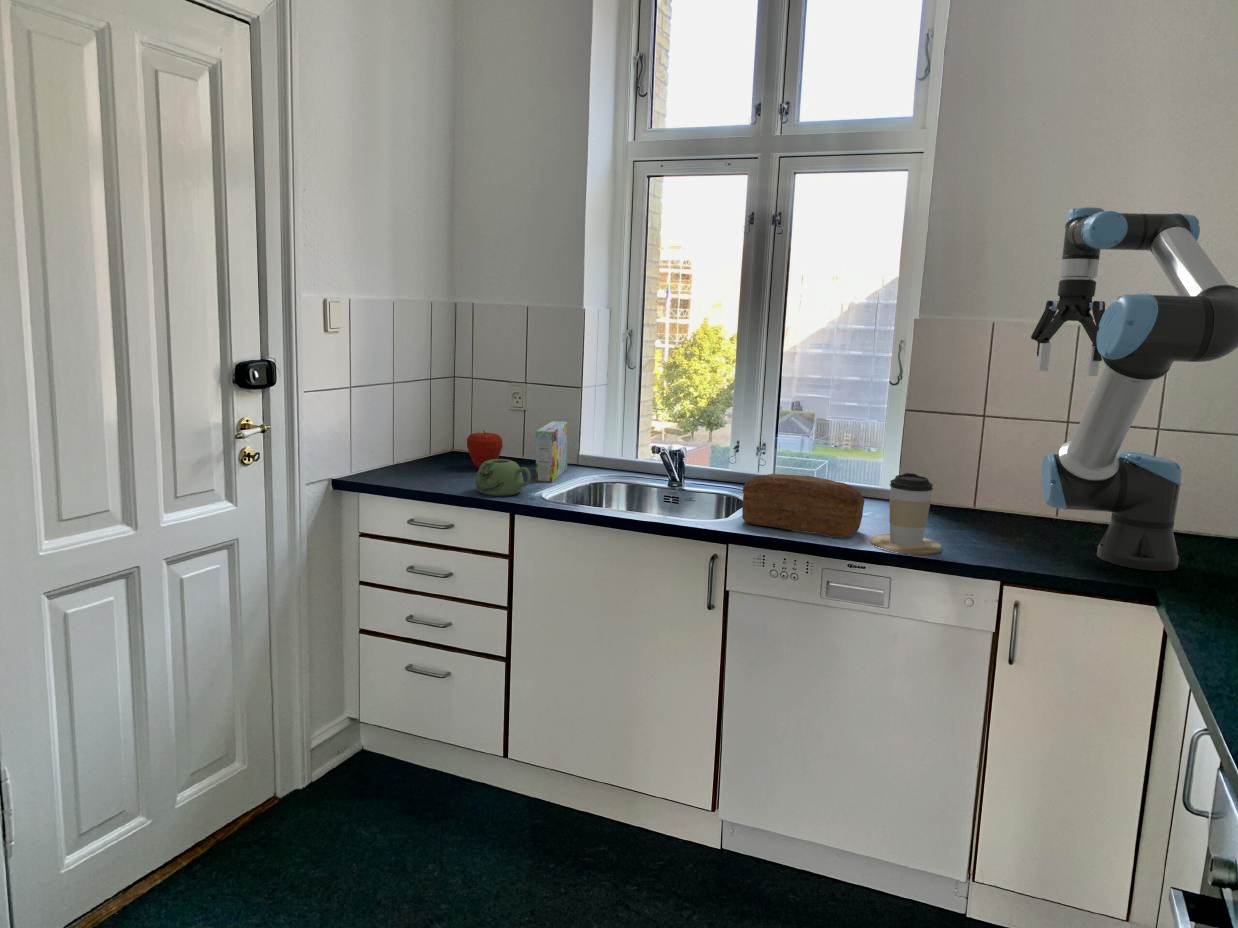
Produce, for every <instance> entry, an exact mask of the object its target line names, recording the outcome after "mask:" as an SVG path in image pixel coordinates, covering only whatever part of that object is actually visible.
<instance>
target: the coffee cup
mask: <svg viewBox="0 0 1238 928" xmlns="http://www.w3.org/2000/svg"><path fill="white" fill-rule="evenodd" d="M933 485H934V484H933V483H931V482H930V481H929V478H927V477H924V476H921V475H918V474H916V473H913V472H912V473H910V472H906V473H902V474H898V475H895V477H894V479H891V480H890V484H889V486H890V495H889V519H888V520H889V521H888V522H889V534H890V541H891V542H892V543H895V544H899V545H905V546H919V545H922V542H923V538H924V535H925V531H926V530H925V529H926V526H927V522H928V517H929V512H930V507H931V497H932V496H931V495H932V490H933V489H934V488H933Z"/></svg>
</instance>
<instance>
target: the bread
mask: <svg viewBox="0 0 1238 928" xmlns="http://www.w3.org/2000/svg"><path fill="white" fill-rule="evenodd" d="M742 493H743V496H742V505H741V506H742V507H741V508H742V509H741V511H742V515H741V517H742V520H743V521H744V522H745V523H748V524H751V525H755V526H761V527H762V526H763V527H771V528H778V529H784V530H788V531H794V532H803V533H810V534H817V535H820V536H821V535H822V536H827V537H833V538H849V537H851V536H853V535H854V534H856V533H857V532H858V531H859V529H860V526H861V523H862V519H863V513H864V506H865V499H864V496H863V495H862V494H861V492H860V491H859V490H857V489H856V488H854V487H853V486H851V485H850V484H847V483H844V482H840V481H836V480H835V481H834V480H832V479H828V478H821V477H816V476H811V475H800V474H799V475H795V474H784V473H781V474H778V473H769V474H768V473H767V474H761V475H757V476H754V477H752V478H749V480H747V481H746V482H745V483H744V485H743V487H742Z"/></svg>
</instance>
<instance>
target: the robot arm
mask: <svg viewBox="0 0 1238 928" xmlns="http://www.w3.org/2000/svg"><path fill="white" fill-rule="evenodd" d="M1064 229H1065V231H1064V238H1063V245H1062V246H1063V248H1062V257H1061V264H1060V272H1059V277H1060V278H1062V279H1060V281H1058V287H1057V296H1058V297H1059V299H1058V300H1047V301H1046V303H1045V309H1044V311H1043V312H1042V315H1041V317H1040V319H1039V320H1038V322H1037V325H1036V326H1035V328H1034V330H1033V331H1032V334H1031V336H1030V338H1031V340H1033V341H1036V342H1037V351H1036V356H1037V357H1038V358H1037V365H1036V371H1037V372H1048V371H1049V363H1050V357H1051V347H1052V343H1051V341H1050V340H1051V339H1052V338H1053V337H1054V335H1056V333H1057V332H1058V331H1059V329H1060V328H1061V327H1062V326H1063V325H1064V324H1065V323H1067V322H1069V321H1071V322H1079V323H1080V324H1081V326H1082V327H1083V329H1084V331H1085V332H1086V334H1087V336H1088V338H1089V339H1090V341H1091V343H1092V344H1091V346H1089V350H1088V358H1087V365H1086V366H1087V367H1086V373H1085V376H1086V377H1098V376H1099V368H1100V362H1103V364H1104V367H1103V369H1102V370H1101V371H1102V372H1101V374H1100V376H1099V379H1098V380H1097V383H1096V385H1095V388H1094V389H1093V391H1092V392H1093V393H1092V394H1091V396H1090V398H1089V401H1088V404H1087V406H1086V408H1085V411H1084V412H1083V414H1082V417H1081V419H1080V422H1079V424H1078V425H1077V426H1078V427H1077V428H1076V431H1075V433H1074V436H1073V438H1072V439H1070V440H1068V441H1066V442H1064V443H1062V445H1061V447H1060V448H1059V450H1058V453H1057V454H1055V453H1053V452H1052V453H1049V454H1045V456H1044V457H1043V459H1042V463H1041V475H1040V476H1041V477H1040V479H1041V481H1040V482H1041V491H1042V495H1043V499H1044V501H1045V503H1046V504H1047V506H1049V507H1051V508H1055V509H1063V510H1071V511H1072V510H1073V511H1089V512H1090V511H1092V512H1107V513H1108V512H1109V513H1111V518H1110V522H1109V524H1108V527H1107V529H1106V531H1105V532H1104V534H1103V536H1102V538H1101V539H1100V542H1099V543H1098V545H1097V552H1096V556H1097V558H1099V559H1100V560H1102V561H1104V562H1107V563H1110V564H1113V565H1116V566H1120V567H1125V568H1129V569H1135V570H1143V571H1153V572H1154V571H1155V572H1166V571H1167V572H1168V571H1174V570H1177V569H1178V566H1179V560H1180V558H1179V557H1180V556H1179V554H1178V549H1177V545H1176V544H1177V543H1176V540H1175V535H1174V526H1175V520H1176V513H1177V507H1178V499H1179V494H1180V487H1181V486H1182V483H1181V482H1182V481H1181V480H1182V477H1181V476H1182V468H1181V465H1180V464H1179V463H1178V462H1176V461H1174V460H1170V459H1168V458H1164V457H1162V456H1161V457H1160V456H1156V455H1150V454H1146V453H1142V452H1141V453H1140V452H1136V451H1135V452H1134V451H1130V450H1129V451H1126V450H1122V451H1121V452H1120V453H1119V454H1118V452H1119V450H1120V448H1121V447H1122V444H1123V442H1124V441H1125V439H1126V436H1127V435H1128V433H1129V430H1130V428H1131V426H1132V424H1133V423H1134V420H1135V418H1136V417H1137V414H1138V412H1139V410H1140V408H1141V406H1142V404H1143V402H1144V400H1145V398H1146V397H1147V395H1148V392H1149V390H1150V388H1151V386H1152V385H1153V383H1154V381H1155V380H1159V379H1161V378H1163V377H1164V376H1166V375H1167V373H1168V372H1170V370H1171V367H1172V366H1173V365H1172V364H1173V363H1174V362H1190V363H1191V362H1192V363H1200V362H1201V363H1203V362H1204V363H1205V362H1211V361H1216V360H1219V359H1221V358H1222V357H1225V356H1228V355H1229V354H1231V353H1232V352H1234V351H1235V350H1236V349H1238V287H1237V286H1235V285H1232V284H1229V283H1228V282H1227V280H1226V279H1225V277H1224V276H1223V275H1222V274H1221V272H1220V271H1219V269H1218V268H1217V266H1216V265H1215V264H1214V263H1213V261H1212V260H1211V259H1210V257H1209V255H1208V254H1207V253H1206V251H1205V250H1204V249H1203V248H1202V246H1201V245H1200V243H1199V242H1198V240H1199V236H1200V231H1201V226H1200V220H1199V218H1197V216H1195V215H1193V214H1192V215H1191V214H1186V213H1180V212H1179V213H1178V212H1177V213H1176V212H1175V213H1135V212H1134V213H1131V212H1130V213H1129V212H1125V213H1124V212H1118V211H1114V210H1107V211H1106V210H1104V209H1103V208H1101V207H1092V206H1091V207H1088V206H1086V207H1075V208H1072V209H1070V210H1069V211H1068V212H1067V217H1066V223H1065V224H1064ZM1101 250H1114V251H1117V250H1121V251H1150V253H1152V255H1153V256H1154V258H1155V260H1156V261H1157V264H1159V267H1160V268H1161V269H1162V271H1163V273H1164V274H1165V276H1166V277H1167V279H1168V280H1169V282H1170V284H1171V285H1172V287H1173V289H1174V290H1175V291H1176V293H1177V295H1171V294H1170V295H1167V294H1165V295H1164V294H1163V295H1162V294H1160V295H1159V294H1158V295H1156V294H1152V293H1151V294H1150V293H1146V292H1143V293H1137V294H1124V295H1121V296H1118V297H1116V298H1115V299H1113V300H1112V301H1111V302H1110V303H1109V304H1108V306H1107V307H1106V302H1105V301H1103V300H1094V301H1093V298H1094V296H1095V295H1096V287H1097V281H1096V280H1094V279H1096V278H1097V277H1098V271H1099V263H1100V257H1101ZM1091 311H1092V313H1091ZM1117 454H1118V456H1117Z"/></svg>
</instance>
